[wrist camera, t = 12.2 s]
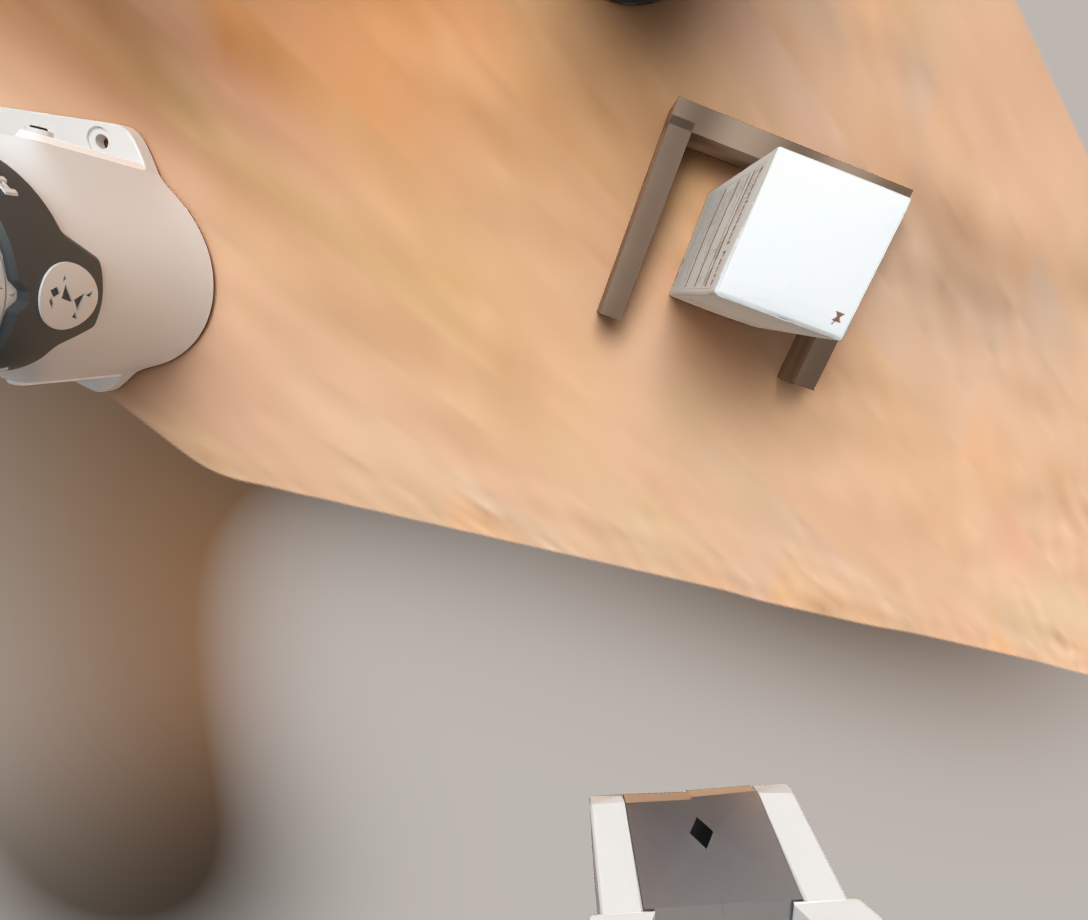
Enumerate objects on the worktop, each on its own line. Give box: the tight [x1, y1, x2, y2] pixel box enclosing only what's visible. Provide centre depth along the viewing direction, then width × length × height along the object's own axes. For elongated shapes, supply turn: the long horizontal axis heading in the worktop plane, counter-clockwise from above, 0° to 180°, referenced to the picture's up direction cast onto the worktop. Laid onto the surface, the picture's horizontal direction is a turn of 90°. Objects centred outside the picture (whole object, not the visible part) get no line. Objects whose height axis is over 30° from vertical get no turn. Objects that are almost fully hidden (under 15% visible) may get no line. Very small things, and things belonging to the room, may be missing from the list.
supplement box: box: [670, 147, 910, 341], centre depth 33 cm, size 7×7×13 cm
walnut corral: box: [597, 97, 913, 390], centre depth 37 cm, size 16×14×3 cm
